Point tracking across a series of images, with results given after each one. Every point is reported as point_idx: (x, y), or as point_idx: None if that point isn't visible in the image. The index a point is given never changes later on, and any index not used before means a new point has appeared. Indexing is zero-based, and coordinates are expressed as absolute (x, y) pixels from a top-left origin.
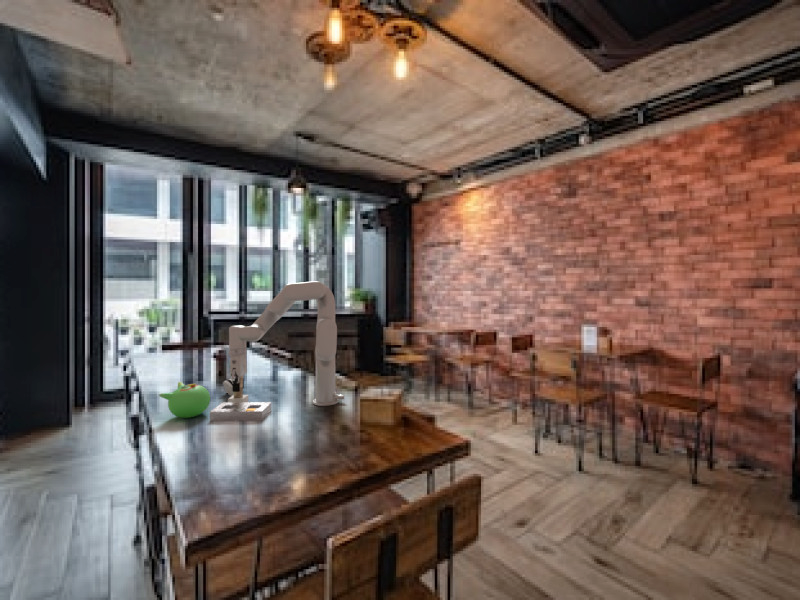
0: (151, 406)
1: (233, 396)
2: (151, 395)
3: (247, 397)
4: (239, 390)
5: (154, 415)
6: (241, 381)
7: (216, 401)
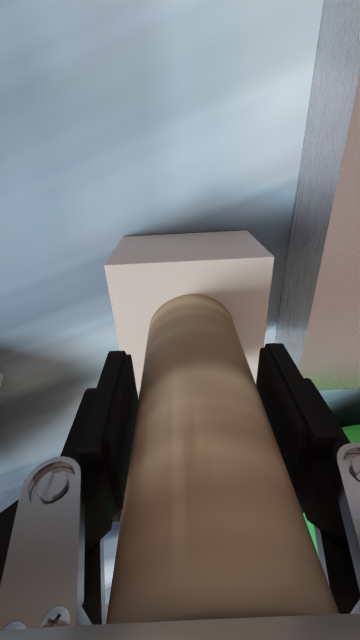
0: None
1: None
2: None
3: (135, 257)
4: (285, 348)
5: None
6: (247, 447)
7: None
